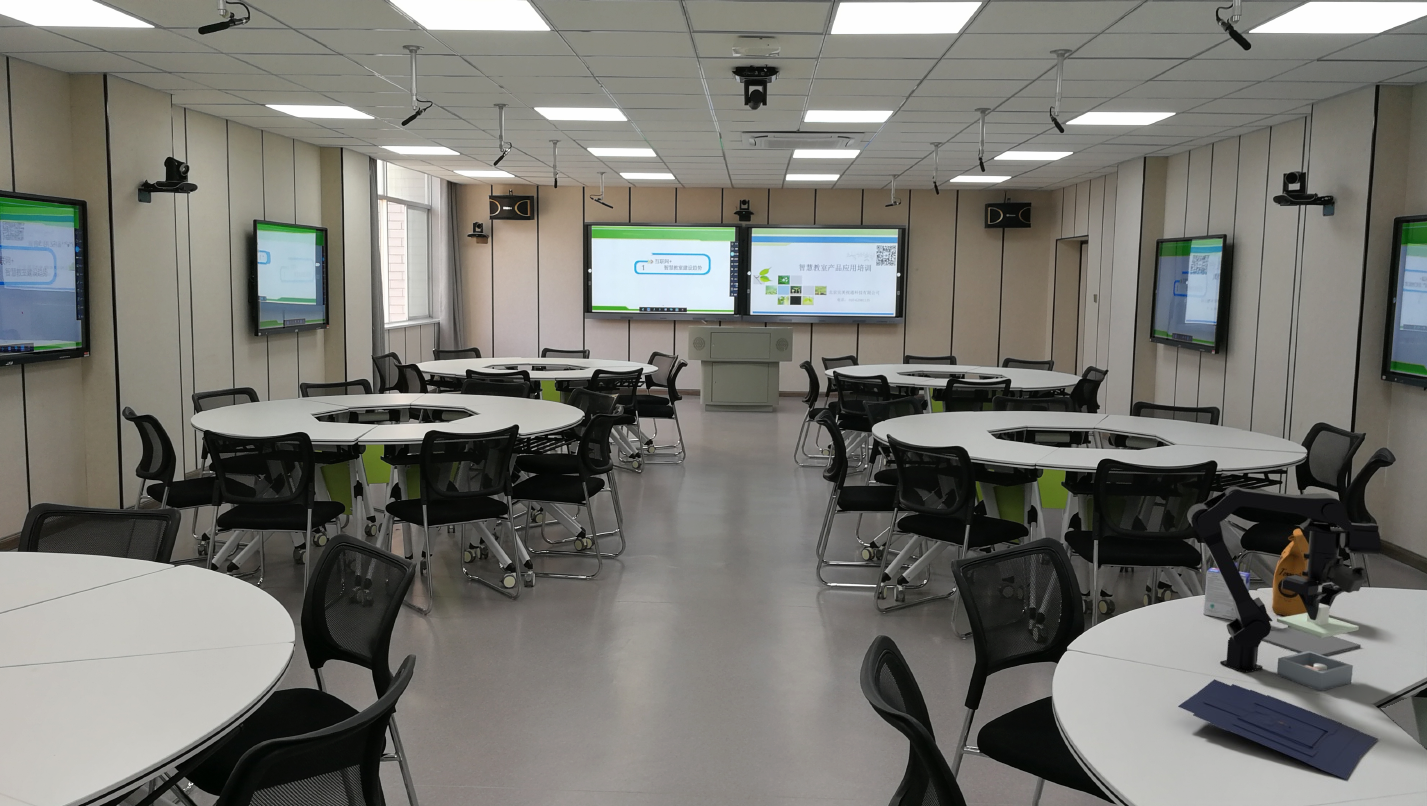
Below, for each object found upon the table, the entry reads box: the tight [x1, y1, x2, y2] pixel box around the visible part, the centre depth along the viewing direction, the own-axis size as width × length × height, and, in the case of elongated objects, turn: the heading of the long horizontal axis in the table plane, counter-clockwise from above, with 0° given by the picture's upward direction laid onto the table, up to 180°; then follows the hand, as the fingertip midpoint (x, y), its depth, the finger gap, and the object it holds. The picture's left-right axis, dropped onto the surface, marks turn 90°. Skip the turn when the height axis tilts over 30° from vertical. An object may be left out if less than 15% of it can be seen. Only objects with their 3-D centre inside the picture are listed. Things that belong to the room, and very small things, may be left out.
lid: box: [1276, 603, 1360, 638], centre depth 228 cm, size 12×11×6 cm
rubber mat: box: [1261, 626, 1362, 657], centre depth 251 cm, size 18×16×1 cm
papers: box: [1177, 679, 1379, 780], centre depth 198 cm, size 24×30×4 cm
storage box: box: [1276, 651, 1354, 692], centre depth 226 cm, size 11×10×4 cm
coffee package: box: [1271, 528, 1309, 617], centre depth 273 cm, size 10×12×22 cm
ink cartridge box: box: [1203, 562, 1251, 621], centre depth 269 cm, size 10×6×14 cm, turn 53°
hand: (1317, 618), depth 228 cm, fingers closed on lid, 3 cm apart
